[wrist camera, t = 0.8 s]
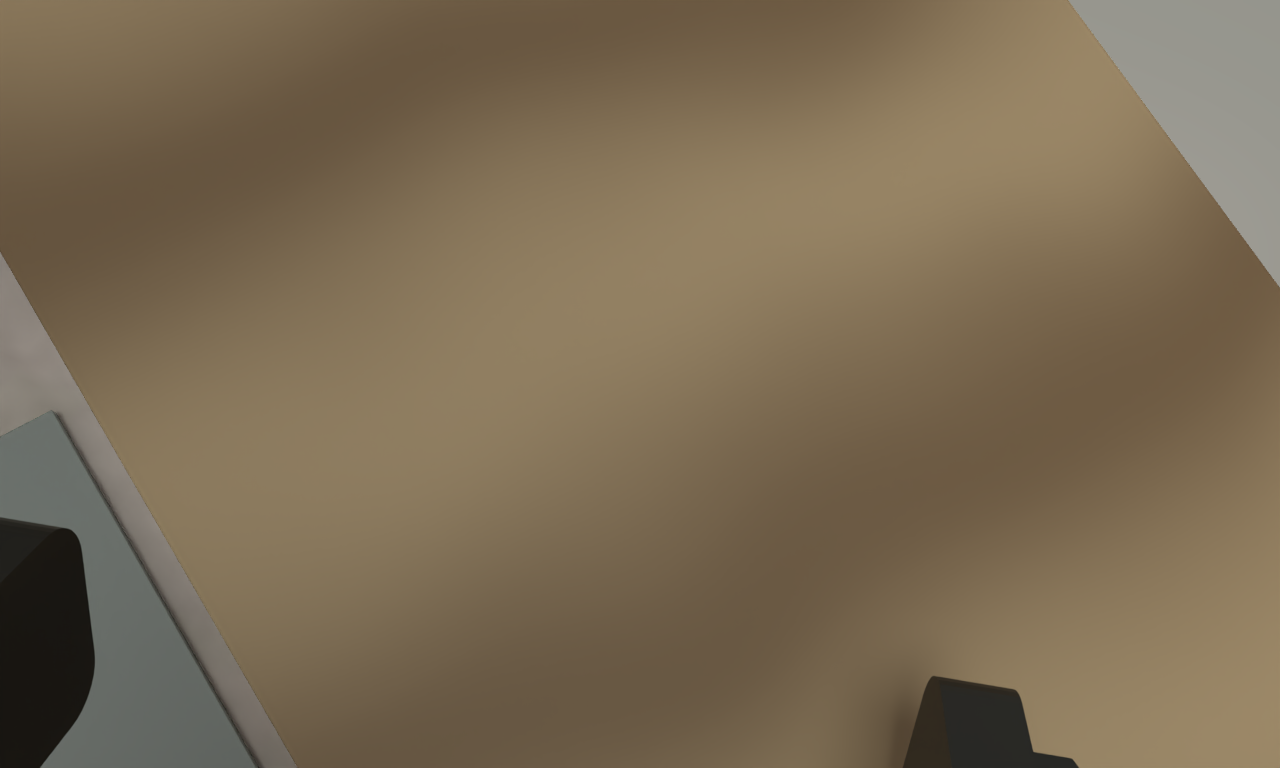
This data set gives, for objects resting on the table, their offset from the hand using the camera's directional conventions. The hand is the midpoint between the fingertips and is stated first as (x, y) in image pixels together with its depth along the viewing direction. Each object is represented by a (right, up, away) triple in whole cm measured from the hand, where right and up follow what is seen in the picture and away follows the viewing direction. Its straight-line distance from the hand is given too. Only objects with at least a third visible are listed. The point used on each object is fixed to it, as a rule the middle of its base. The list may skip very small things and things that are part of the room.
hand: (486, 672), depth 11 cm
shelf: (0, -4, +21) cm, 22 cm away
